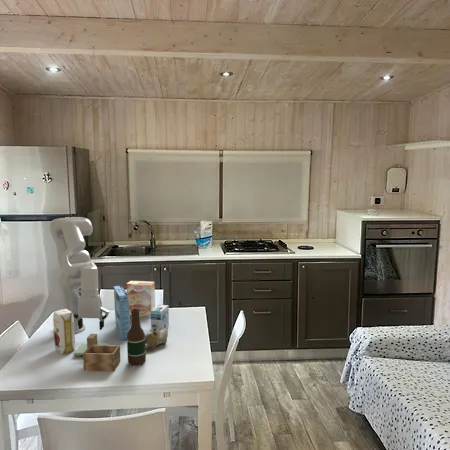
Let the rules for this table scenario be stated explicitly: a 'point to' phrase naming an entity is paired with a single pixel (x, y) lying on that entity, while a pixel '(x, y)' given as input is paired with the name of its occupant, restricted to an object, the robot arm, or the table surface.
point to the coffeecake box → (141, 296)
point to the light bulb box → (159, 317)
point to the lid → (90, 341)
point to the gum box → (122, 311)
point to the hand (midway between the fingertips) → (91, 328)
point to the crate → (101, 358)
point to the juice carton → (64, 331)
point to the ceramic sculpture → (156, 338)
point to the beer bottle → (136, 341)
